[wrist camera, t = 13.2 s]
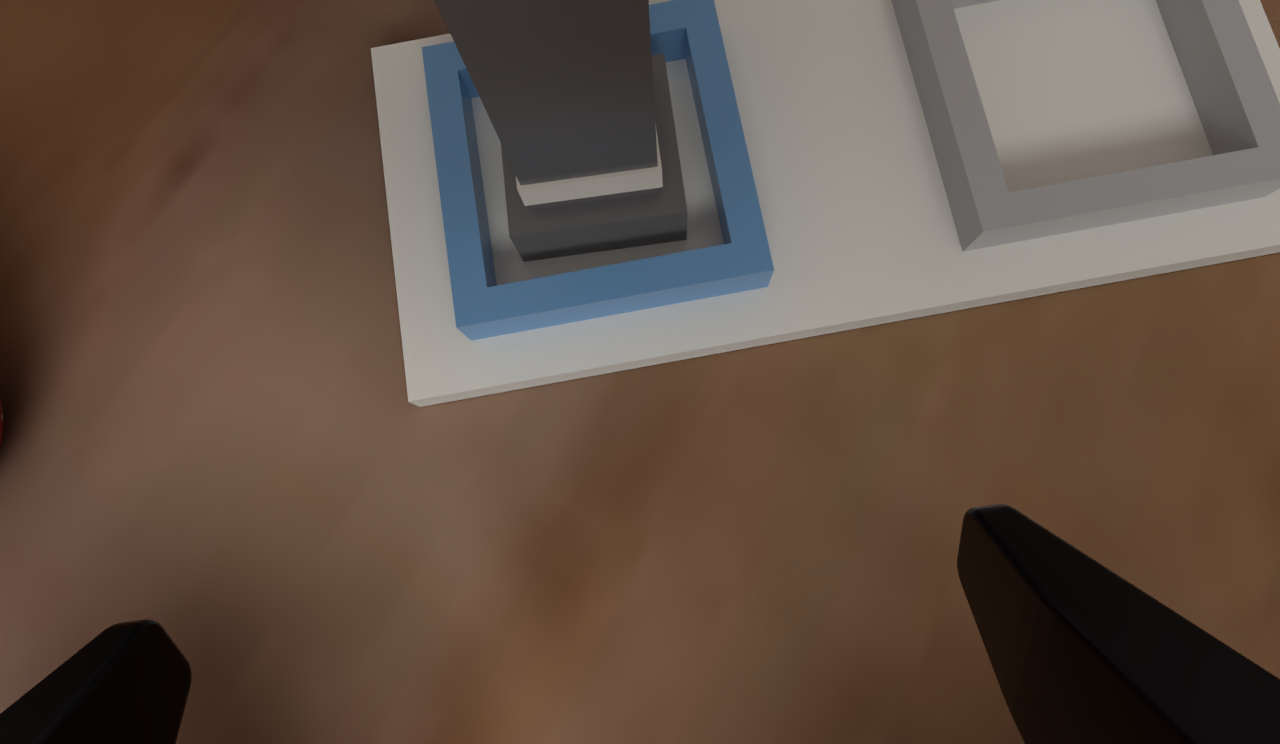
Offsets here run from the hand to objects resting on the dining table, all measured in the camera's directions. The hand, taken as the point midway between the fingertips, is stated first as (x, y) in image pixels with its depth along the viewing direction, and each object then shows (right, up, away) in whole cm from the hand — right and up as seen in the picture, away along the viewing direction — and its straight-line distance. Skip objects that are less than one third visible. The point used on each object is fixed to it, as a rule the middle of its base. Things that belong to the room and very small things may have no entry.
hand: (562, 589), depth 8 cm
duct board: (+7, +10, +16) cm, 19 cm away
